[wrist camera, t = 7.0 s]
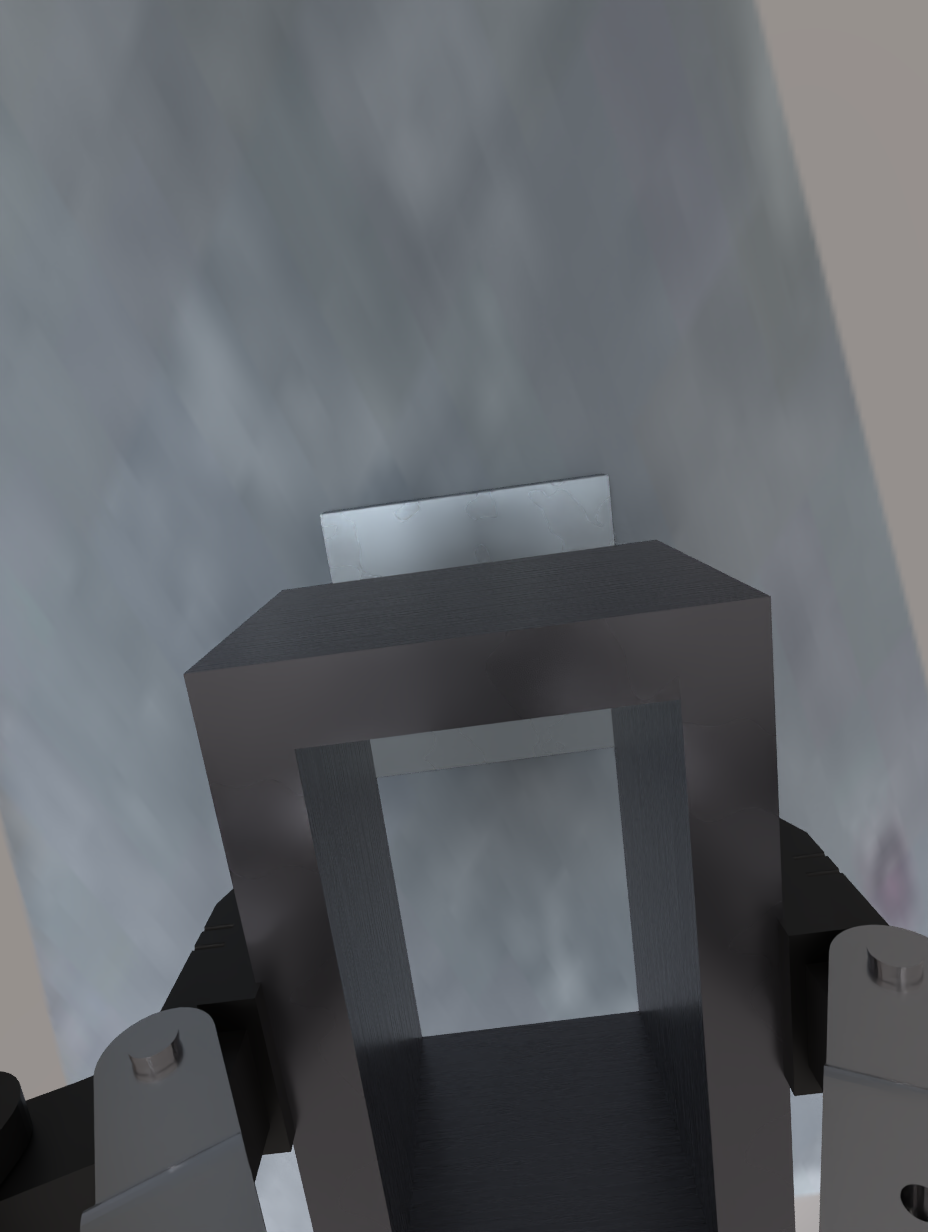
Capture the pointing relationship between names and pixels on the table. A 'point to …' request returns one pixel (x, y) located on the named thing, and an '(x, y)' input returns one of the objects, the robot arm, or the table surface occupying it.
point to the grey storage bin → (656, 879)
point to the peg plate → (469, 537)
